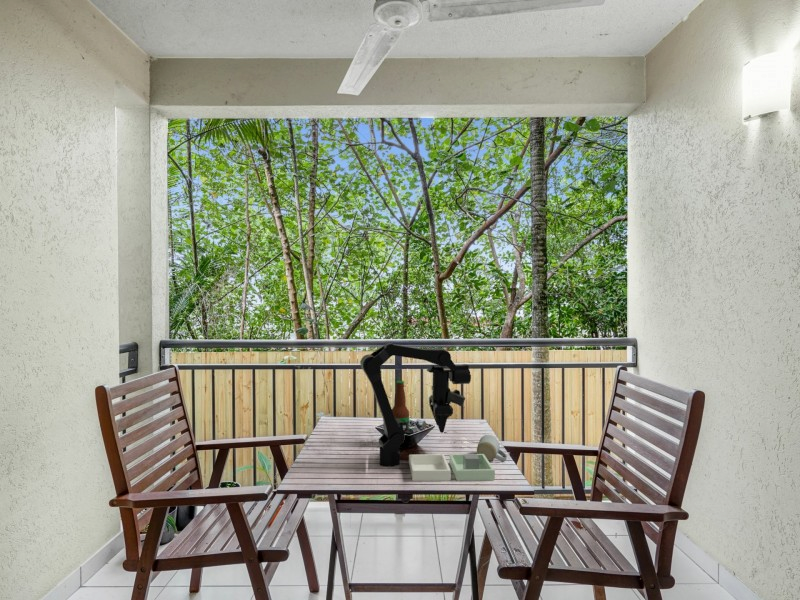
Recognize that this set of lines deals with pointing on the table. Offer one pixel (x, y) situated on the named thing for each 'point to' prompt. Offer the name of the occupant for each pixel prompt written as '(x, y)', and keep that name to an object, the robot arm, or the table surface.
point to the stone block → (470, 461)
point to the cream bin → (429, 467)
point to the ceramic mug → (490, 448)
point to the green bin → (479, 474)
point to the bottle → (401, 405)
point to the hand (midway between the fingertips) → (440, 428)
